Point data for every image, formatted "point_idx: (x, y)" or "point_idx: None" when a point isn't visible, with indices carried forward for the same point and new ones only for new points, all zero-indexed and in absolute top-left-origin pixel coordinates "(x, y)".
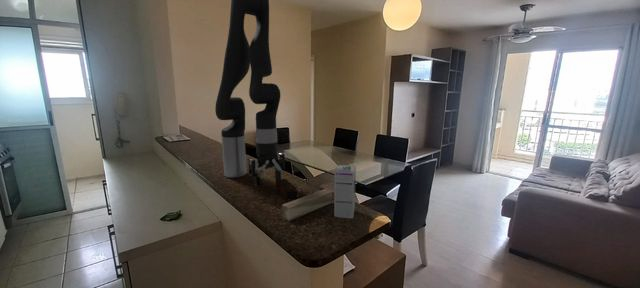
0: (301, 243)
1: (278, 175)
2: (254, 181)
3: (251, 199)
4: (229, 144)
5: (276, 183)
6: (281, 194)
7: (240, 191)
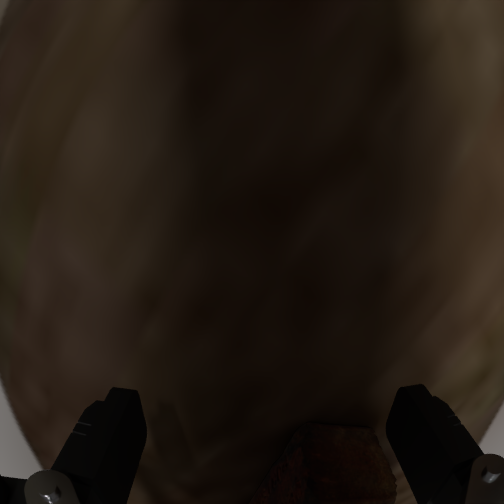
0: None
1: (408, 480)
2: (74, 430)
3: (71, 402)
4: None
5: (297, 494)
6: (259, 497)
7: (45, 200)
